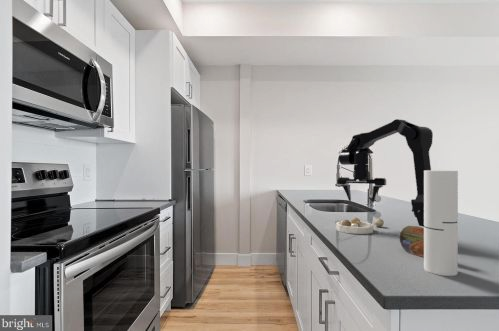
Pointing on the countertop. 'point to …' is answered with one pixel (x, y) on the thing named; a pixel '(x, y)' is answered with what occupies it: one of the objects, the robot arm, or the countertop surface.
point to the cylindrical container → (441, 222)
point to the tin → (413, 240)
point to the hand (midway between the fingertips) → (361, 201)
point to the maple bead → (379, 222)
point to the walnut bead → (346, 223)
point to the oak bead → (355, 221)
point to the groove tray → (355, 228)
